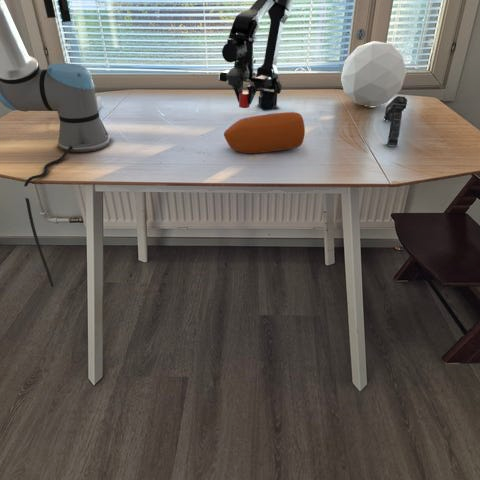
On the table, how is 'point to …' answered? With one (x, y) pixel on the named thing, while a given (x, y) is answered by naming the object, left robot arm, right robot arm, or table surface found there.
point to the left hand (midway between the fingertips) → (59, 19)
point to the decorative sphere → (373, 74)
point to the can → (243, 99)
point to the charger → (98, 101)
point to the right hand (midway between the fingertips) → (244, 103)
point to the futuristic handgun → (395, 118)
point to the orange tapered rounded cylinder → (266, 133)
